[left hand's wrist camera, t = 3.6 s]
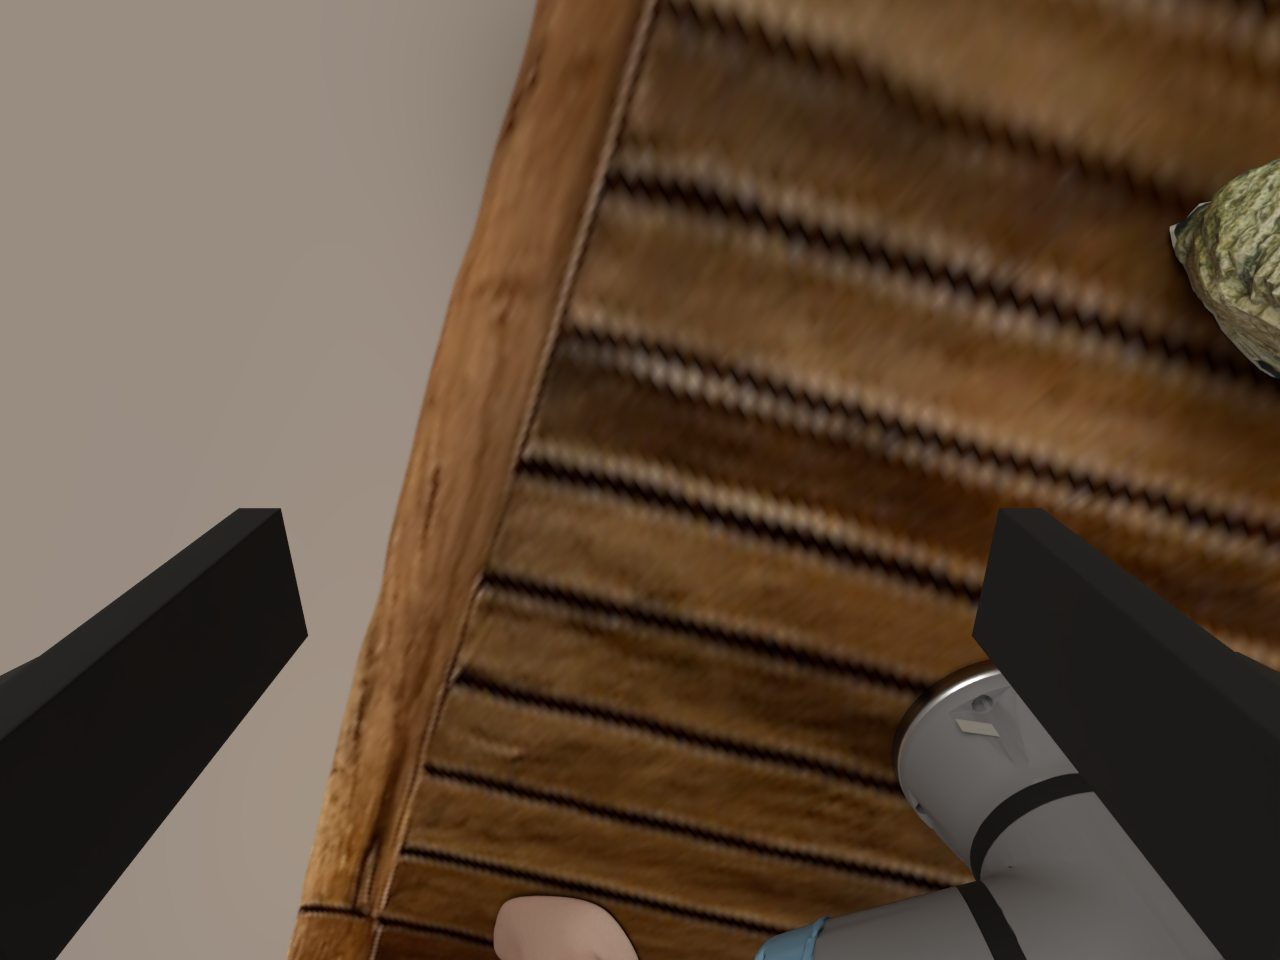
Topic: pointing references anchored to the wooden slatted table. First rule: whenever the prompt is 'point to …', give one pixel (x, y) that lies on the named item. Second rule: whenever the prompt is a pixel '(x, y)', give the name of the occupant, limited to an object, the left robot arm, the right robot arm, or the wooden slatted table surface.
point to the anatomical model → (558, 931)
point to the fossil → (1239, 261)
